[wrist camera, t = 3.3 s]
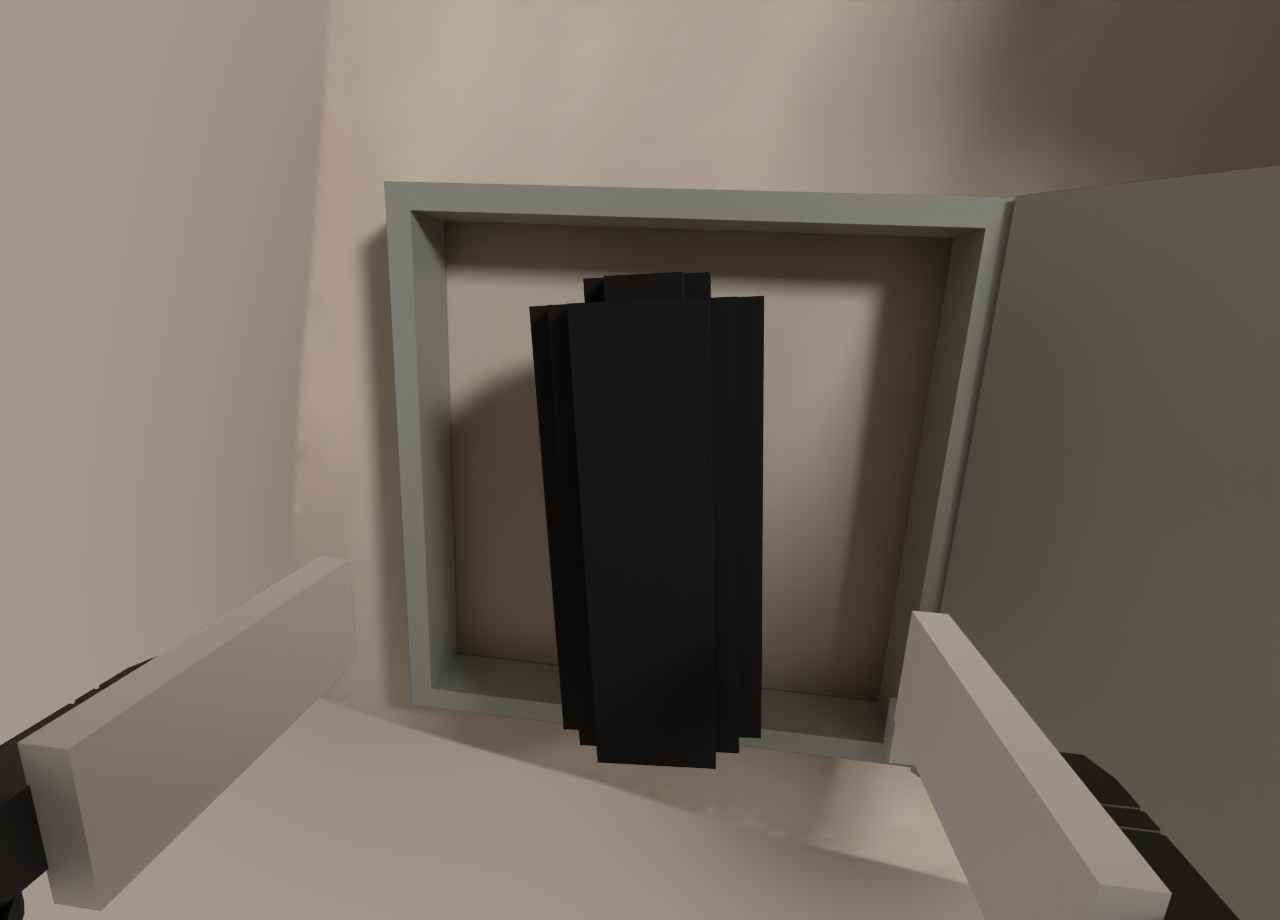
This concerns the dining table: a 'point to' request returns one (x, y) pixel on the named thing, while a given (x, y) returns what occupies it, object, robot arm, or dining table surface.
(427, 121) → the dining table surface
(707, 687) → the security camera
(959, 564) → the case
